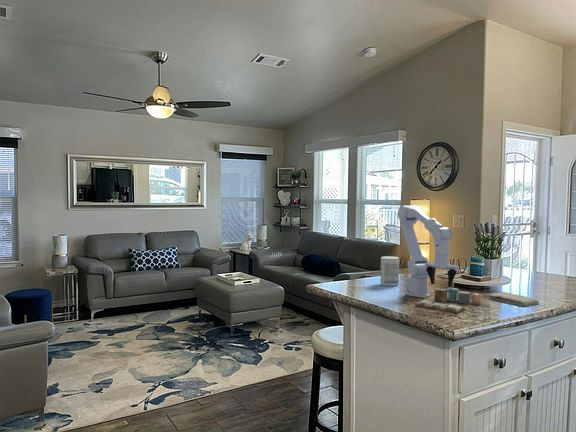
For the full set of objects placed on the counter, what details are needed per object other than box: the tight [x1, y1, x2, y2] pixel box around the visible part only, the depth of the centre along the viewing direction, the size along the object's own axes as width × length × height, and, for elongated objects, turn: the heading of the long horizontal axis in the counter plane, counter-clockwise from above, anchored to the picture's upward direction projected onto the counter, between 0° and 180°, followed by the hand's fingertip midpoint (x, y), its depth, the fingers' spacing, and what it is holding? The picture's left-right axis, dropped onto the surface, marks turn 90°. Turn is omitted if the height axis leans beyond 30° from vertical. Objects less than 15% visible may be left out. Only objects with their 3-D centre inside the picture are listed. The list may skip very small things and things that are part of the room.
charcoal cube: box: [457, 290, 471, 305], centre depth 191 cm, size 4×4×4 cm
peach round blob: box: [470, 292, 483, 305], centre depth 189 cm, size 4×4×4 cm
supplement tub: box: [380, 255, 400, 287], centre depth 229 cm, size 10×10×15 cm
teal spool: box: [446, 287, 460, 302], centre depth 195 cm, size 5×5×5 cm
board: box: [414, 299, 466, 314], centre depth 181 cm, size 18×8×1 cm, turn 49°
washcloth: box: [488, 291, 540, 307], centre depth 194 cm, size 12×18×3 cm, turn 29°
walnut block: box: [434, 287, 448, 304], centre depth 190 cm, size 4×4×6 cm
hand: (441, 285), depth 190 cm, fingers open, 7 cm apart
